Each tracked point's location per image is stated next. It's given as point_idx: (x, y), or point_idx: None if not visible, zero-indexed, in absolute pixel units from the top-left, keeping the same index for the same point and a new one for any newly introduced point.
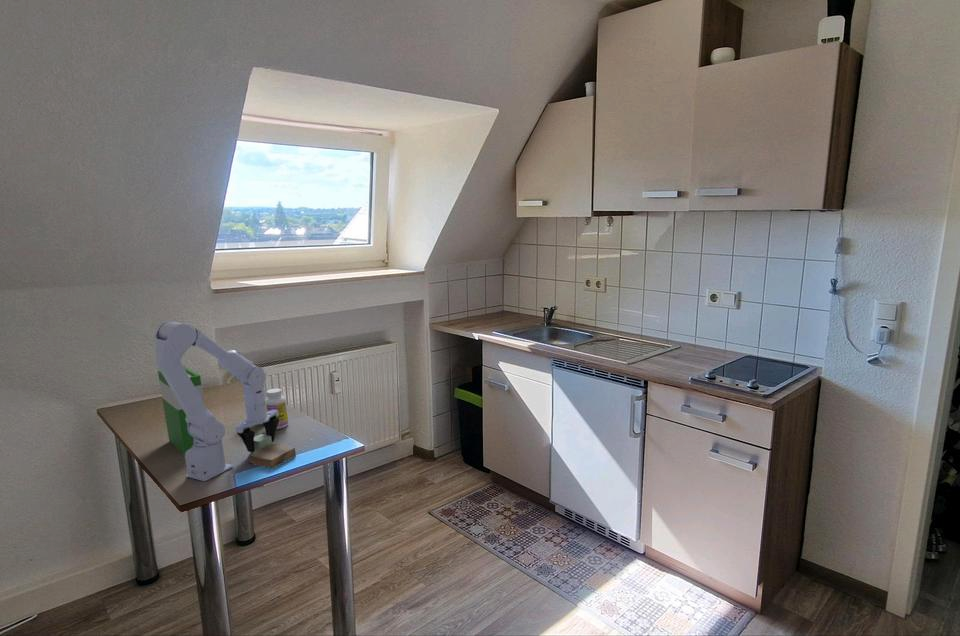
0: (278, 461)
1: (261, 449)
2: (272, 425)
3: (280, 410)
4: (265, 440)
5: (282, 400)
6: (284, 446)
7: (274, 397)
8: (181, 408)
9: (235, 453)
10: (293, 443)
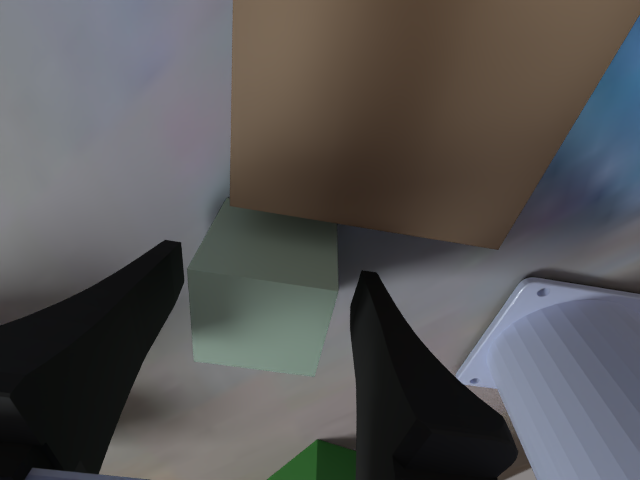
0: None
1: (372, 222)
2: (78, 356)
3: None
4: (267, 270)
5: None
6: (255, 7)
7: None
8: None
9: (336, 355)
10: (55, 100)
